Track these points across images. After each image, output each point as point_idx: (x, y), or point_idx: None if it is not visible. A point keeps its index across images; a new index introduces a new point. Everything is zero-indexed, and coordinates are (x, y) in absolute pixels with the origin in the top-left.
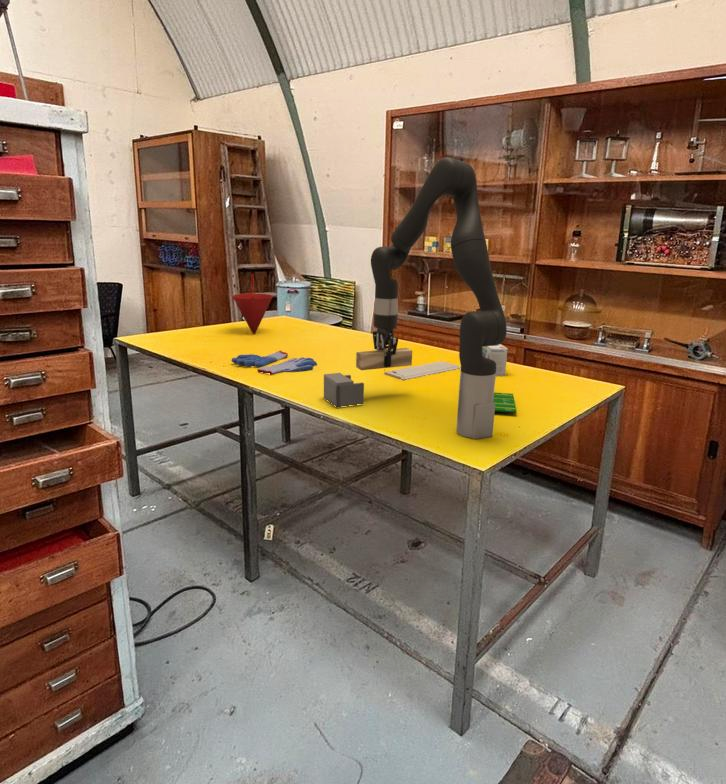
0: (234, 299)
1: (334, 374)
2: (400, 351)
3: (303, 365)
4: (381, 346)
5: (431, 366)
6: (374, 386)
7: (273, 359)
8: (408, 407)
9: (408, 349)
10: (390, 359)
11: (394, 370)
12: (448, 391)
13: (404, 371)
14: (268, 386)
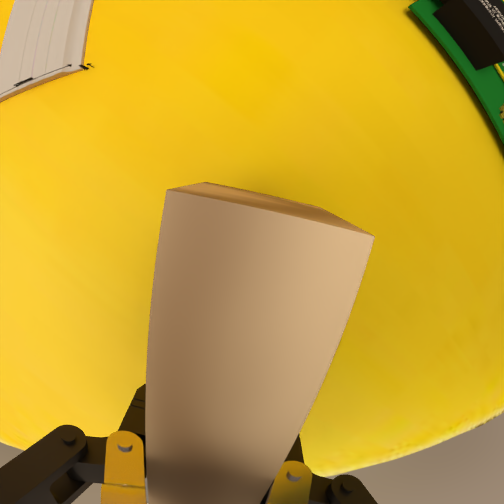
0: None
1: (147, 490)
2: (310, 407)
3: None
4: (80, 455)
5: None
6: (86, 237)
7: None
8: (393, 307)
9: (289, 244)
10: (299, 450)
11: (2, 57)
12: (330, 13)
13: (29, 26)
14: (31, 442)
